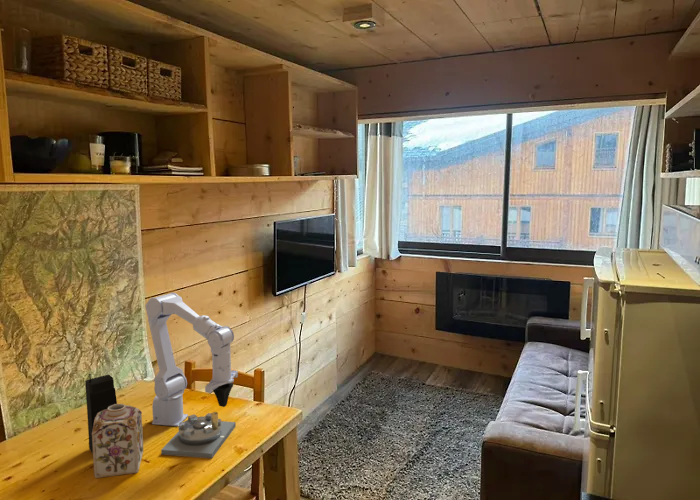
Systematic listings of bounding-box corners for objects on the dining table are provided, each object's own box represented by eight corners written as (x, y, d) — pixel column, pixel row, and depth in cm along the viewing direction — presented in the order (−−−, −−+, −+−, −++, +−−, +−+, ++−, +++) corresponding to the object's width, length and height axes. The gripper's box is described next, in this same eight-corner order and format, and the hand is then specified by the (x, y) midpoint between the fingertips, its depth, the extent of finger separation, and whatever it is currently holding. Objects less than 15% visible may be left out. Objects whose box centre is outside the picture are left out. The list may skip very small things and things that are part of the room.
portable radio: (114, 440, 161) (110, 364, 157) (121, 447, 156) (117, 370, 153) (88, 449, 155) (82, 371, 152) (94, 456, 151) (89, 376, 148)
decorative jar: (93, 479, 140) (89, 418, 137) (102, 457, 151) (98, 400, 148) (139, 473, 143) (136, 413, 140) (144, 452, 154) (141, 396, 151)
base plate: (161, 454, 152) (161, 449, 152) (190, 423, 172) (190, 418, 172) (212, 458, 150) (211, 453, 150) (235, 426, 170) (235, 421, 170)
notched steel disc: (170, 441, 157) (169, 416, 156) (195, 422, 169) (194, 399, 168) (206, 448, 153) (205, 423, 152) (229, 428, 165) (228, 405, 164)
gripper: (217, 375, 153) (219, 417, 155) (245, 359, 166) (246, 398, 168) (199, 371, 156) (200, 413, 157) (227, 356, 169) (228, 395, 171)
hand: (222, 405), depth 163 cm, fingers closed
